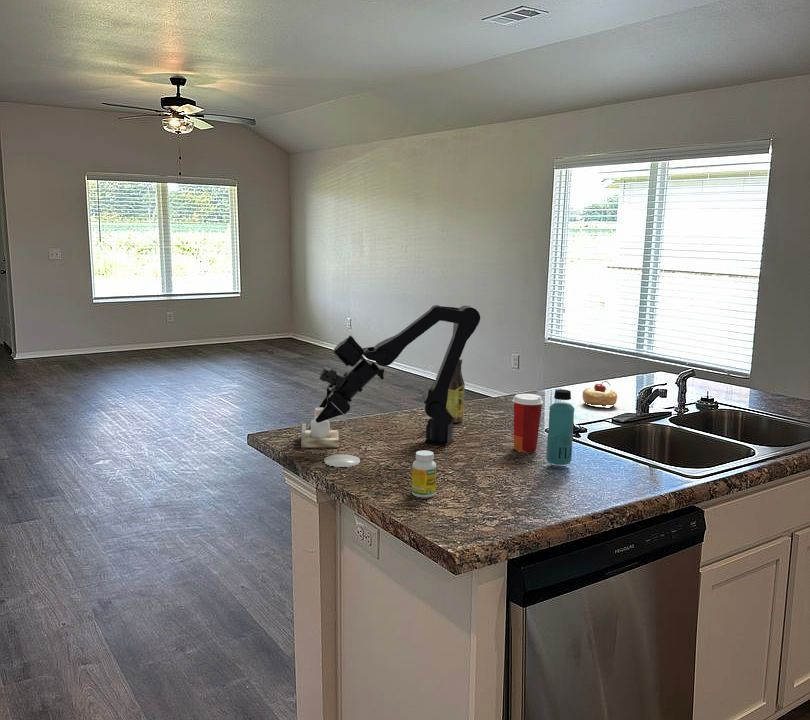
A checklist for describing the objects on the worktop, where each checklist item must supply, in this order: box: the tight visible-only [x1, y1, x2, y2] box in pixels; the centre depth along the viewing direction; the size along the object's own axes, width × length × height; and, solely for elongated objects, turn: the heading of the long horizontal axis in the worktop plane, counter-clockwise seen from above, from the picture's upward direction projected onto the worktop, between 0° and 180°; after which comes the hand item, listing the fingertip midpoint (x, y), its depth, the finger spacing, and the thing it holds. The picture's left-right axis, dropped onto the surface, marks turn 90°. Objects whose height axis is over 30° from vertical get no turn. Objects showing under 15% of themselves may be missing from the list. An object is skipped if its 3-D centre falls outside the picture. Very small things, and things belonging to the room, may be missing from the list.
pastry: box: [582, 380, 618, 406], centre depth 257 cm, size 12×12×9 cm
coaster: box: [323, 453, 361, 468], centre depth 185 cm, size 9×9×1 cm
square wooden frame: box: [300, 423, 340, 448], centre depth 202 cm, size 10×10×4 cm
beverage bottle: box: [545, 388, 575, 466], centre depth 185 cm, size 6×7×20 cm
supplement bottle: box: [411, 450, 437, 499], centre depth 164 cm, size 5×5×10 cm
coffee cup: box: [511, 393, 544, 453], centre depth 200 cm, size 8×8×15 cm
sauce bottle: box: [446, 357, 466, 424], centre depth 228 cm, size 7×6×20 cm
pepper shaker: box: [310, 406, 331, 438], centre depth 201 cm, size 4×4×10 cm
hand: (316, 417), depth 201 cm, fingers open, 9 cm apart
